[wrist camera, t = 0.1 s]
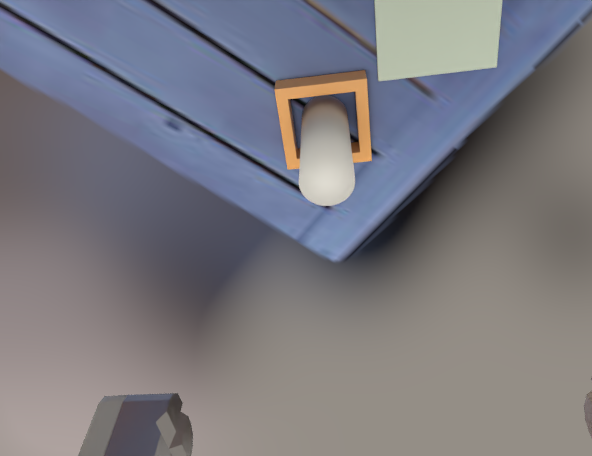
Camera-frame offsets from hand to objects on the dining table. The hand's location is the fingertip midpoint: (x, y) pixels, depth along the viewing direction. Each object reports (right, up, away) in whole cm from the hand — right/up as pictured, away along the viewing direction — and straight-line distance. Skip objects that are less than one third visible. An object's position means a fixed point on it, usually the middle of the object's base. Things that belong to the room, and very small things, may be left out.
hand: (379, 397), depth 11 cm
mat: (+12, +26, +40) cm, 49 cm away
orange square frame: (+1, +16, +48) cm, 50 cm away
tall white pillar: (+1, +16, +48) cm, 50 cm away
